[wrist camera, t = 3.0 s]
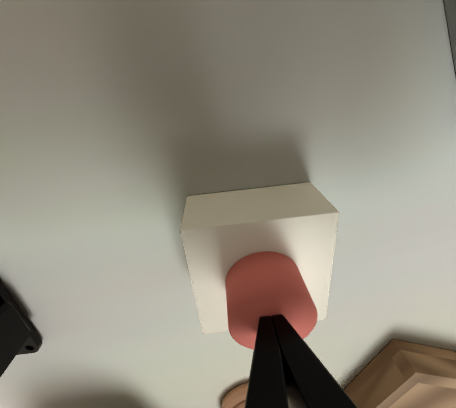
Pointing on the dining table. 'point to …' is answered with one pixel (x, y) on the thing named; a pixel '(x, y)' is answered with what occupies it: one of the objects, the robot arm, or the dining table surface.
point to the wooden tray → (406, 378)
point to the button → (266, 295)
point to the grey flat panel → (451, 25)
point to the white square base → (257, 241)
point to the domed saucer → (236, 397)
